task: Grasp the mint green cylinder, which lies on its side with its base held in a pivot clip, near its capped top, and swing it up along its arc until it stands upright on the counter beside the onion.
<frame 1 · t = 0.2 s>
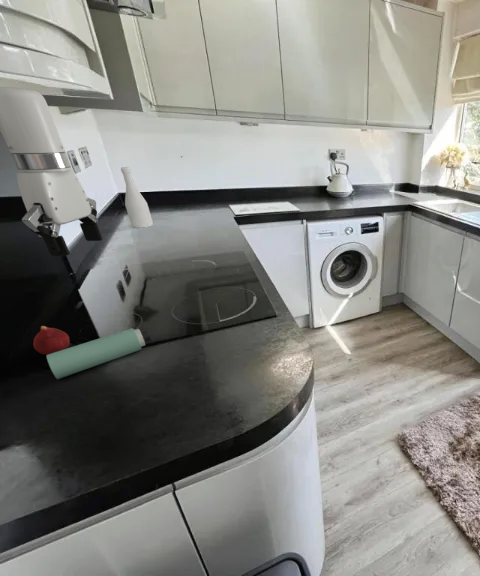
hand: (78, 247, 70), 25 cm above the table, tool pointing down, fingers open, 9 cm apart
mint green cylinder: (104, 349, 74), point 3 cm above the table, hinge at 0.0°
wine bottle: (143, 226, 175), on the table
onion: (59, 355, 76), on the table
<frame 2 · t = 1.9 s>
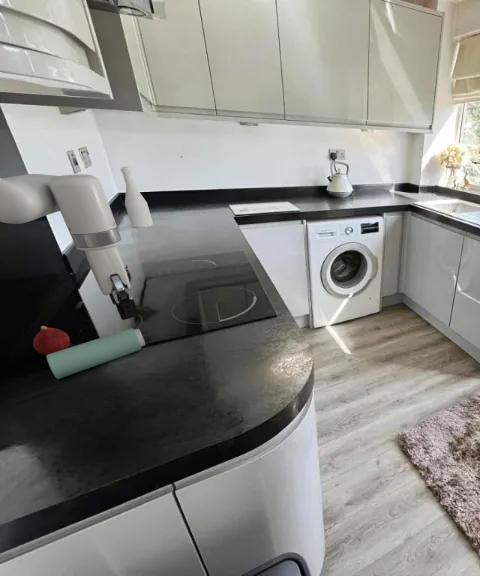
hand: (125, 309, 74), 11 cm above the table, tool pointing down, fingers open, 9 cm apart
nothing on the table moved.
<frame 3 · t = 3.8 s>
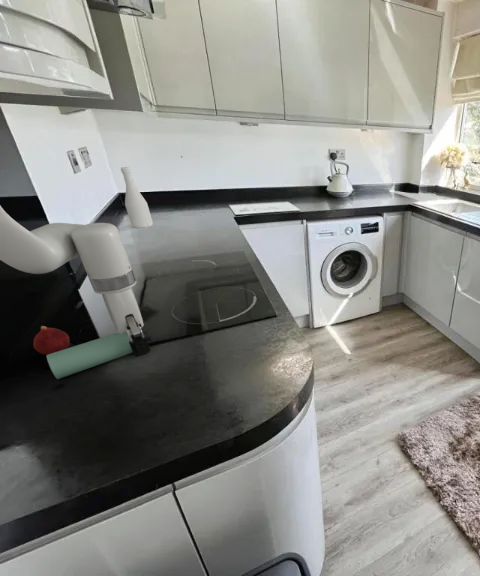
hand: (139, 346, 79), 1 cm above the table, tool pointing down, fingers closed on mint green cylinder, 5 cm apart
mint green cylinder: (104, 349, 74), point 3 cm above the table, hinge at 0.0°, touching gripper
everything else where it was.
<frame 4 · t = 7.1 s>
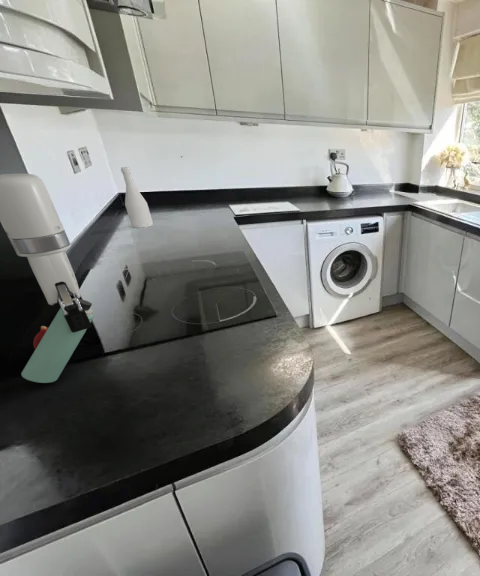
hand: (79, 322, 69), 11 cm above the table, tool pointing down, fingers closed on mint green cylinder, 5 cm apart
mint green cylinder: (62, 338, 68), point 9 cm above the table, hinge at 50.7°, touching gripper
everything else where it was.
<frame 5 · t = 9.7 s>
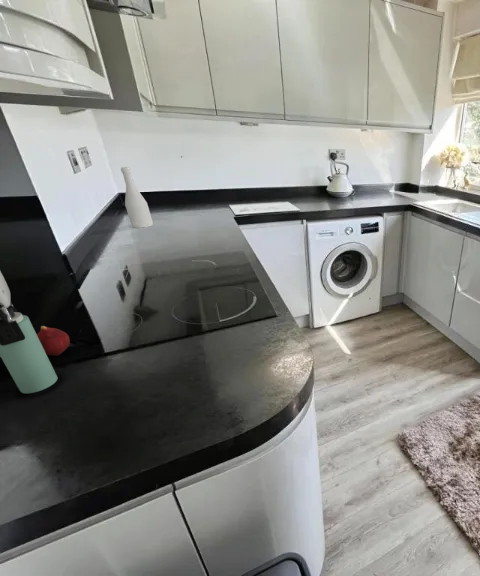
hand: (13, 334, 62), 12 cm above the table, tool pointing down, fingers closed on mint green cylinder, 5 cm apart
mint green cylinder: (21, 349, 64), point 9 cm above the table, hinge at 88.5°, touching gripper
everything else where it was.
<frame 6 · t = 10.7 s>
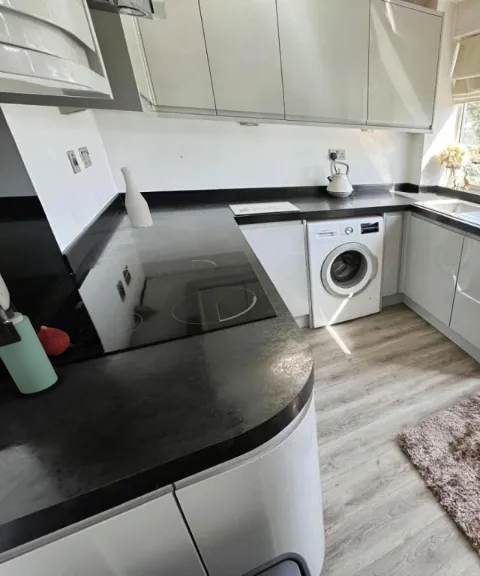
hand: (9, 332, 62), 13 cm above the table, tool pointing down, fingers open, 9 cm apart
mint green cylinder: (21, 349, 64), point 9 cm above the table, hinge at 88.6°
everything else where it was.
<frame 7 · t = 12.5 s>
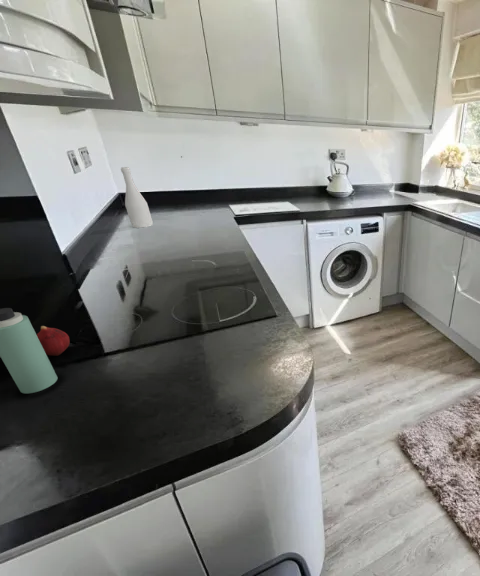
nothing on the table moved.
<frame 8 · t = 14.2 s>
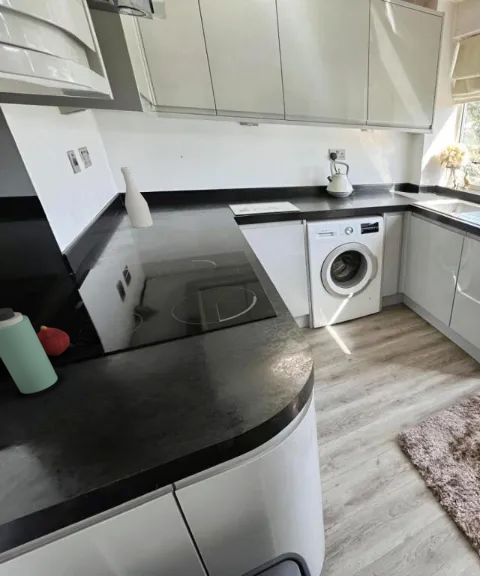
nothing on the table moved.
at the end: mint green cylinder at +89° (first picture: +0°); the gripper is holding nothing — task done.
